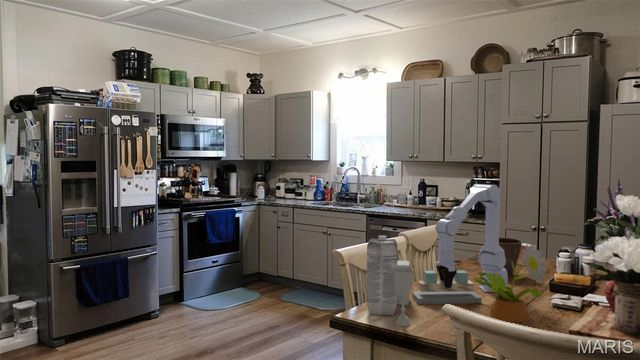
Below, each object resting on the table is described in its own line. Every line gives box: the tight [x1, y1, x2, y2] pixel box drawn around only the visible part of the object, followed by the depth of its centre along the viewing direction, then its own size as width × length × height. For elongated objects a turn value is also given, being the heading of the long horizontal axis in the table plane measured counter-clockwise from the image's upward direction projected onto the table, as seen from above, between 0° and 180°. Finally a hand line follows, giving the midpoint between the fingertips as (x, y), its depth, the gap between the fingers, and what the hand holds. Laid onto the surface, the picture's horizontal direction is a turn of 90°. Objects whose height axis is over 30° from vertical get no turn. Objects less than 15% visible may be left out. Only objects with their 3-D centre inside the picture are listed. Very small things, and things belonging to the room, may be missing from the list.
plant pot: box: [499, 237, 523, 277], centre depth 232 cm, size 15×15×16 cm
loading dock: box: [411, 290, 482, 305], centre depth 192 cm, size 24×10×2 cm, turn 92°
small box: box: [517, 242, 537, 268], centre depth 252 cm, size 8×6×10 cm
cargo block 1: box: [423, 270, 438, 284], centre depth 191 cm, size 4×4×4 cm
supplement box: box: [397, 260, 411, 306], centre depth 189 cm, size 9×9×15 cm
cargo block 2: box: [453, 270, 469, 283], centre depth 191 cm, size 4×4×4 cm
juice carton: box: [366, 235, 398, 317], centre depth 175 cm, size 9×10×27 cm
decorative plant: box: [473, 243, 548, 323], centre depth 172 cm, size 27×24×25 cm
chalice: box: [393, 267, 415, 327], centre depth 164 cm, size 7×7×18 cm
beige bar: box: [417, 279, 475, 292], centre depth 191 cm, size 20×5×3 cm, turn 92°
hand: (445, 285), depth 191 cm, fingers closed on beige bar, 5 cm apart
